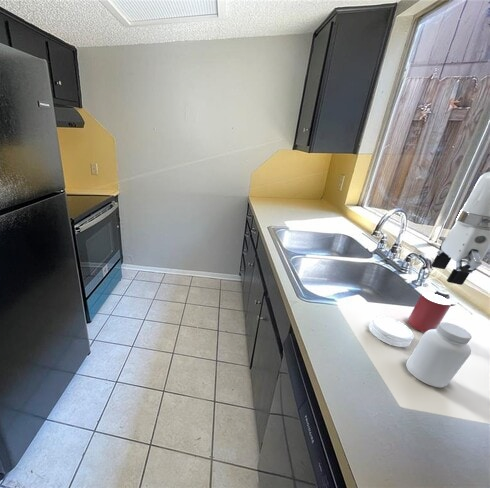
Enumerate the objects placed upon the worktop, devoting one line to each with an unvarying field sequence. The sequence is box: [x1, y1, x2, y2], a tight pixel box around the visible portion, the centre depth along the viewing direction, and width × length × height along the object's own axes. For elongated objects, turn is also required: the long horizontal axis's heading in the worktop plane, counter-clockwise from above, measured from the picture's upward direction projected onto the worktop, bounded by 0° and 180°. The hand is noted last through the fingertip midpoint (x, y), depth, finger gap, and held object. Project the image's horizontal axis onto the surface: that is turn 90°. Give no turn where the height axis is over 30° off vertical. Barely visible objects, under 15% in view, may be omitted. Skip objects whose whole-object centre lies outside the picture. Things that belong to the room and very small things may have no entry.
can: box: [406, 292, 452, 334], centre depth 80 cm, size 7×7×11 cm
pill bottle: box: [405, 321, 472, 388], centre depth 63 cm, size 8×8×15 cm
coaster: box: [368, 315, 415, 348], centre depth 78 cm, size 10×10×4 cm
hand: (445, 275), depth 76 cm, fingers open, 9 cm apart
